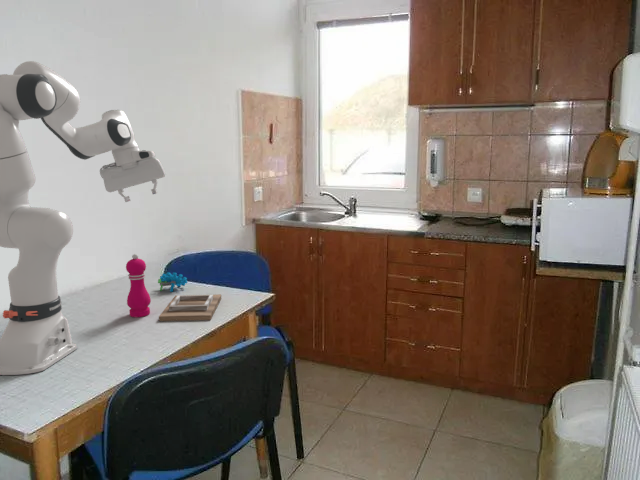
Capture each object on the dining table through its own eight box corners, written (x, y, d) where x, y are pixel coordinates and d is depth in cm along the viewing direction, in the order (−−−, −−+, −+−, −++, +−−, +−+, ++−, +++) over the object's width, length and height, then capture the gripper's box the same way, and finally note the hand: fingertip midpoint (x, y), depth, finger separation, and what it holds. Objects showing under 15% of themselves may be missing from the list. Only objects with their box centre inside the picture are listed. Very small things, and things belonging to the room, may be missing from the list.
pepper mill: (142, 319, 166) (137, 257, 162) (123, 316, 168) (117, 255, 164) (156, 311, 172) (151, 252, 169) (137, 309, 175) (132, 251, 171)
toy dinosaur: (192, 282, 201) (180, 269, 193) (189, 296, 197) (177, 283, 189) (165, 285, 203) (153, 272, 195) (162, 299, 200) (149, 286, 192)
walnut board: (210, 319, 164) (210, 310, 164) (159, 321, 164) (158, 311, 163) (221, 298, 186) (221, 290, 185) (175, 299, 185) (175, 291, 185)
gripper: (95, 167, 175) (109, 206, 177) (156, 150, 177) (169, 189, 179) (100, 167, 181) (113, 205, 183) (158, 150, 183) (171, 189, 186)
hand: (141, 197), depth 181 cm, fingers open, 8 cm apart
